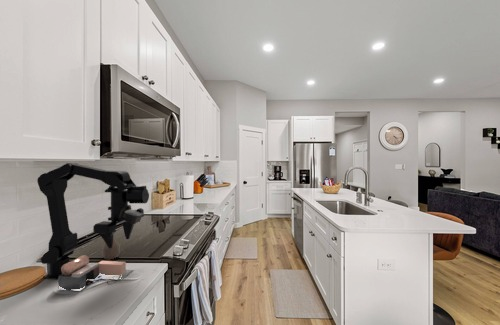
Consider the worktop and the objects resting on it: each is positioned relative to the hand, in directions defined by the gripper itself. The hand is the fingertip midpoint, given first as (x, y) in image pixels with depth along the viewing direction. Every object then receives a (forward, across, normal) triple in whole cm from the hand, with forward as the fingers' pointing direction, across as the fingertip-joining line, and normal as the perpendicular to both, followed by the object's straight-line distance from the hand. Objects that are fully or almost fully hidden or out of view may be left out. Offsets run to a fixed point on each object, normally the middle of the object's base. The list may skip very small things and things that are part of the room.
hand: (119, 243), depth 84 cm
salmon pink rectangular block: (+11, -1, +2) cm, 12 cm away
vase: (+12, +12, +13) cm, 21 cm away
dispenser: (+12, -8, +9) cm, 17 cm away
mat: (+12, -1, +3) cm, 12 cm away
